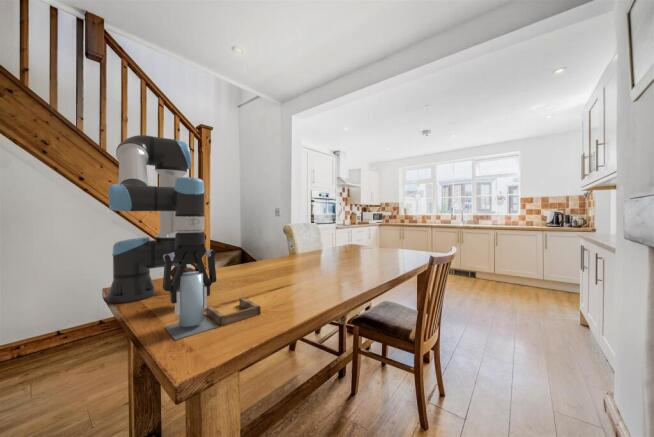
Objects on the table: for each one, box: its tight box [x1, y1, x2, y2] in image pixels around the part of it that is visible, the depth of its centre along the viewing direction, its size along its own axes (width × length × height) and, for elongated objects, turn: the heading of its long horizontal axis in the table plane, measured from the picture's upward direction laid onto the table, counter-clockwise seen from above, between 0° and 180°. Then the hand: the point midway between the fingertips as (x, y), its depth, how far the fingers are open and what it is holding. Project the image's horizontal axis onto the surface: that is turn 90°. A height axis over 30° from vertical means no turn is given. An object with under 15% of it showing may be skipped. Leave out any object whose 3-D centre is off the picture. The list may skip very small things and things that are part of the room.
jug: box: [178, 271, 205, 327], centre depth 75 cm, size 6×9×14 cm
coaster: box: [164, 315, 219, 341], centre depth 74 cm, size 11×11×1 cm
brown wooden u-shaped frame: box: [205, 297, 262, 327], centre depth 84 cm, size 13×13×2 cm
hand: (191, 310), depth 74 cm, fingers closed on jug, 6 cm apart
